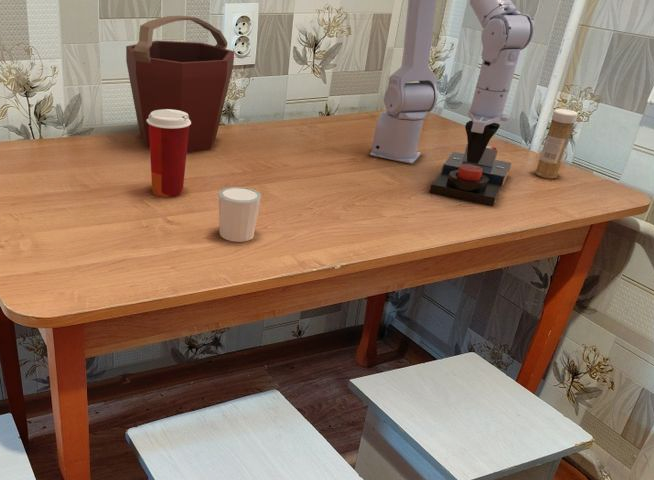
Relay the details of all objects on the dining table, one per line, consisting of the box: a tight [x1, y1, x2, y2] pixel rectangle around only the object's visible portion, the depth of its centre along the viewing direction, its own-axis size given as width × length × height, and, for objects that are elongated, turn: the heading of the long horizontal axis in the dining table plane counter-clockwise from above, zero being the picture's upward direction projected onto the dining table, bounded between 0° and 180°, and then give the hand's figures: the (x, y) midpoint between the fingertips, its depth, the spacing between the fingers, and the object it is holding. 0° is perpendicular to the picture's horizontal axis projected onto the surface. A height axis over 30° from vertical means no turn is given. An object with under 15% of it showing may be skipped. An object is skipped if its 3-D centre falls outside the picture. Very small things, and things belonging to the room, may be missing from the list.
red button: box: [457, 164, 483, 181], centre depth 135 cm, size 4×4×2 cm
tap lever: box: [463, 142, 499, 167], centre depth 143 cm, size 6×2×4 cm, turn 63°
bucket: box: [125, 15, 235, 153], centre depth 149 cm, size 24×22×25 cm
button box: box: [429, 170, 502, 207], centre depth 136 cm, size 12×8×4 cm, turn 63°
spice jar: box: [534, 108, 579, 180], centre depth 146 cm, size 5×5×14 cm
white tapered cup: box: [218, 186, 262, 243], centre depth 113 cm, size 7×7×7 cm
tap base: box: [441, 151, 512, 192], centre depth 145 cm, size 12×10×3 cm
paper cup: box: [146, 109, 191, 198], centre depth 125 cm, size 8×8×14 cm
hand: (472, 162), depth 134 cm, fingers closed
